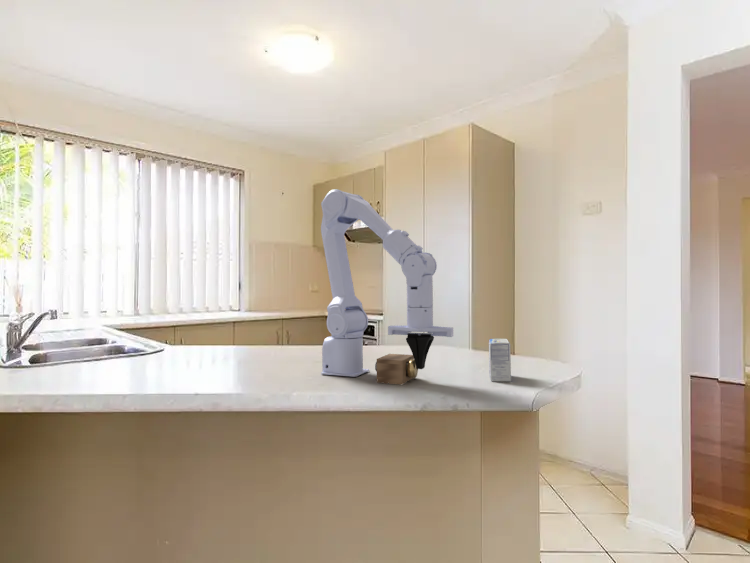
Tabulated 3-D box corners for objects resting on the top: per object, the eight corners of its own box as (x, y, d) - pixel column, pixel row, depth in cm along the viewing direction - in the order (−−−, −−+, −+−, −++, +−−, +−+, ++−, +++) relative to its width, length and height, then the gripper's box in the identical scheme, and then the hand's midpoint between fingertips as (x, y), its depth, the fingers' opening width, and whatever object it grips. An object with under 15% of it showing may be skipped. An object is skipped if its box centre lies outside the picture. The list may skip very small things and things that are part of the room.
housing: (376, 382, 104) (376, 359, 104) (389, 375, 112) (389, 353, 112) (402, 384, 102) (402, 360, 102) (414, 377, 109) (413, 355, 109)
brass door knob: (373, 376, 107) (373, 359, 107) (380, 373, 110) (380, 356, 110) (412, 379, 103) (412, 361, 103) (418, 376, 107) (417, 358, 107)
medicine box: (511, 382, 103) (510, 343, 103) (490, 381, 104) (489, 342, 104) (508, 375, 111) (508, 338, 111) (488, 374, 112) (488, 338, 112)
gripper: (382, 307, 104) (383, 369, 104) (447, 308, 98) (448, 373, 98) (394, 305, 110) (394, 363, 110) (455, 306, 104) (455, 367, 105)
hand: (420, 368), depth 105 cm, fingers closed
